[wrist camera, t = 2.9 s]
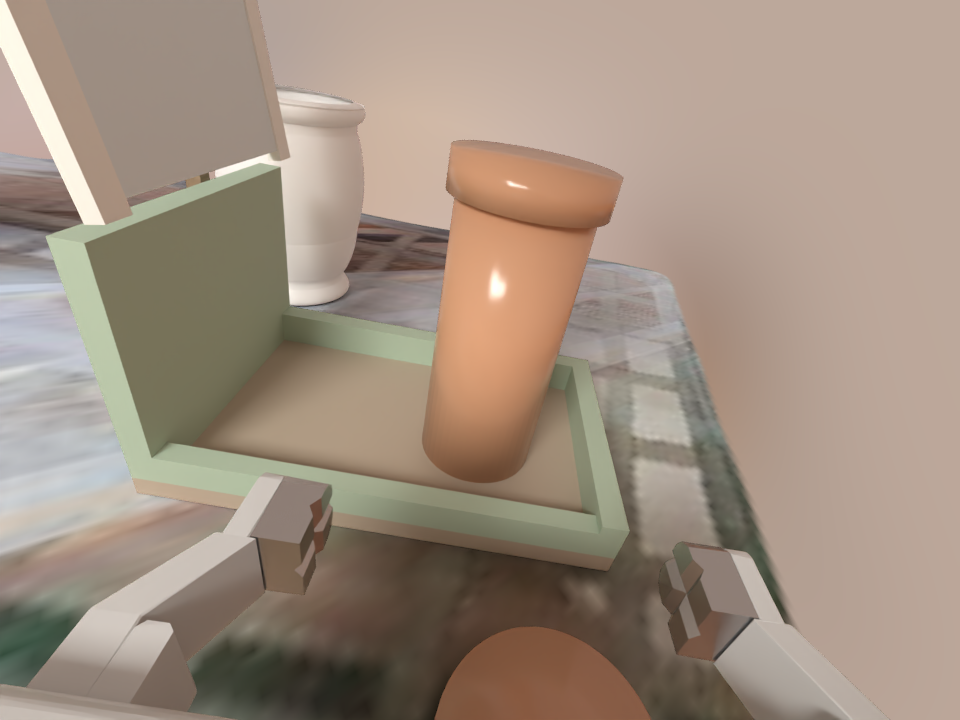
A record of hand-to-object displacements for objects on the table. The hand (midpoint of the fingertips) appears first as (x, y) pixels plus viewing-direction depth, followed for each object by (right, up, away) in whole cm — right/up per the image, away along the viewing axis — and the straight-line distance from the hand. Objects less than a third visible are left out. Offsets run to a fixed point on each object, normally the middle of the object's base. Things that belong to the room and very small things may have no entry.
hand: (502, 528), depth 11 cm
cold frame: (-5, 0, +16) cm, 17 cm away
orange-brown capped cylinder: (-1, -1, +15) cm, 15 cm away
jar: (-17, +10, +29) cm, 35 cm away
